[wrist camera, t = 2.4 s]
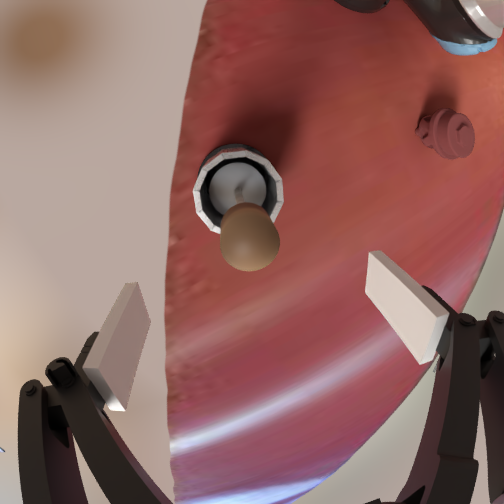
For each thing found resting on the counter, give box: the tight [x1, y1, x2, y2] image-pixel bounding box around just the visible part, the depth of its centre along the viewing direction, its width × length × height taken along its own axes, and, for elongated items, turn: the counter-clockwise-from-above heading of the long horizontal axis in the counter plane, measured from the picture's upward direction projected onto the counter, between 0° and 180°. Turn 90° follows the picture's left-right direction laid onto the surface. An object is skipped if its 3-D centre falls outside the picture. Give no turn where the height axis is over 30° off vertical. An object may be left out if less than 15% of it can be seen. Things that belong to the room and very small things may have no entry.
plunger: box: [209, 163, 280, 271], centre depth 30 cm, size 8×8×21 cm
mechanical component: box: [415, 108, 475, 160], centre depth 40 cm, size 12×10×10 cm
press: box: [193, 144, 284, 234], centre depth 42 cm, size 16×13×12 cm
